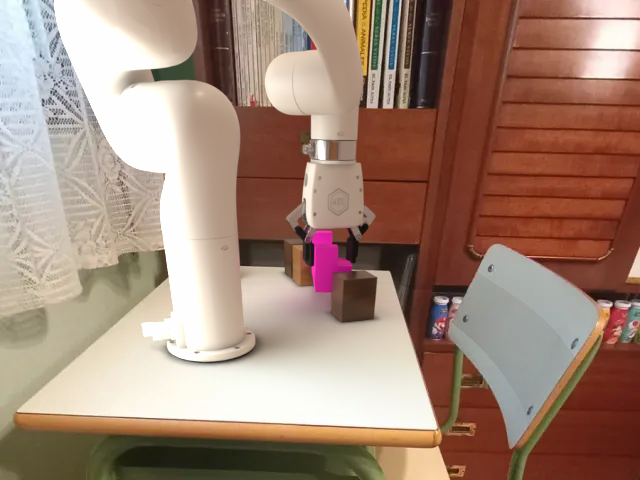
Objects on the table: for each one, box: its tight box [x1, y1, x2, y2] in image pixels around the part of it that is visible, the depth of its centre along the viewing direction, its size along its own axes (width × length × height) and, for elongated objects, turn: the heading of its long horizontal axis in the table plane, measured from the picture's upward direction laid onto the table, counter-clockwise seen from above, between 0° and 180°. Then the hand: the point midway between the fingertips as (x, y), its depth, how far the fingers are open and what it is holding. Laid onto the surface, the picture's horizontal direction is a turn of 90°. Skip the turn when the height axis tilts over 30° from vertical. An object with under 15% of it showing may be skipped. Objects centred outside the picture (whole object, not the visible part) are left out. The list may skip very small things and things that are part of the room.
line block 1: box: [283, 238, 303, 279], centre depth 103 cm, size 6×5×7 cm
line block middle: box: [292, 245, 314, 287], centre depth 98 cm, size 6×5×7 cm
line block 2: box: [330, 269, 378, 323], centre depth 81 cm, size 6×5×7 cm
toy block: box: [312, 230, 353, 294], centre depth 88 cm, size 15×6×8 cm, turn 3°
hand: (330, 262), depth 88 cm, fingers closed on toy block, 7 cm apart
